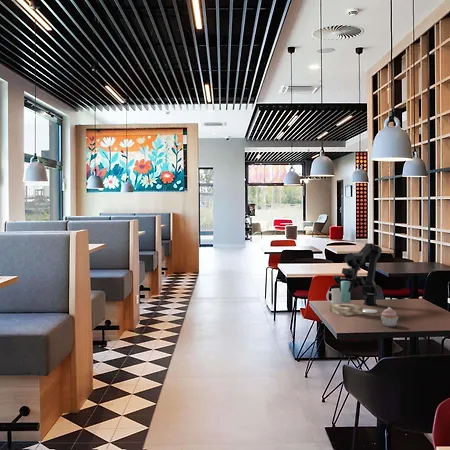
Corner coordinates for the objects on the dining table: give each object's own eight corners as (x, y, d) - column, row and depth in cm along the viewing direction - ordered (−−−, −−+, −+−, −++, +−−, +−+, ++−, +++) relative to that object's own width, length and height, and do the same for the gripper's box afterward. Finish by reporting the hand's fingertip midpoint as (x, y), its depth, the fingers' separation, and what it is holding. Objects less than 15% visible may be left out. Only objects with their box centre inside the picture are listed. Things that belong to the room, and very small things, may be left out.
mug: (342, 307, 313) (342, 288, 313) (342, 308, 307) (341, 289, 307) (326, 306, 316) (326, 288, 316) (326, 308, 310) (325, 289, 310)
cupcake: (386, 322, 265) (385, 304, 265) (402, 325, 258) (401, 306, 258) (376, 325, 259) (376, 306, 259) (392, 328, 252) (392, 309, 252)
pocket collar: (349, 309, 304) (349, 303, 304) (362, 313, 290) (362, 307, 290) (329, 311, 299) (329, 305, 299) (342, 315, 286) (341, 309, 286)
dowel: (347, 301, 298) (346, 280, 298) (352, 302, 293) (351, 281, 293) (339, 301, 296) (339, 281, 296) (344, 303, 291) (343, 282, 291)
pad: (370, 309, 303) (370, 308, 303) (380, 312, 293) (380, 311, 293) (357, 310, 300) (357, 309, 300) (366, 313, 290) (366, 312, 290)
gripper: (334, 262, 304) (325, 282, 296) (362, 263, 291) (354, 284, 283) (341, 273, 310) (332, 293, 302) (368, 275, 297) (360, 296, 289)
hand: (344, 291), depth 294 cm, fingers closed on dowel, 5 cm apart
